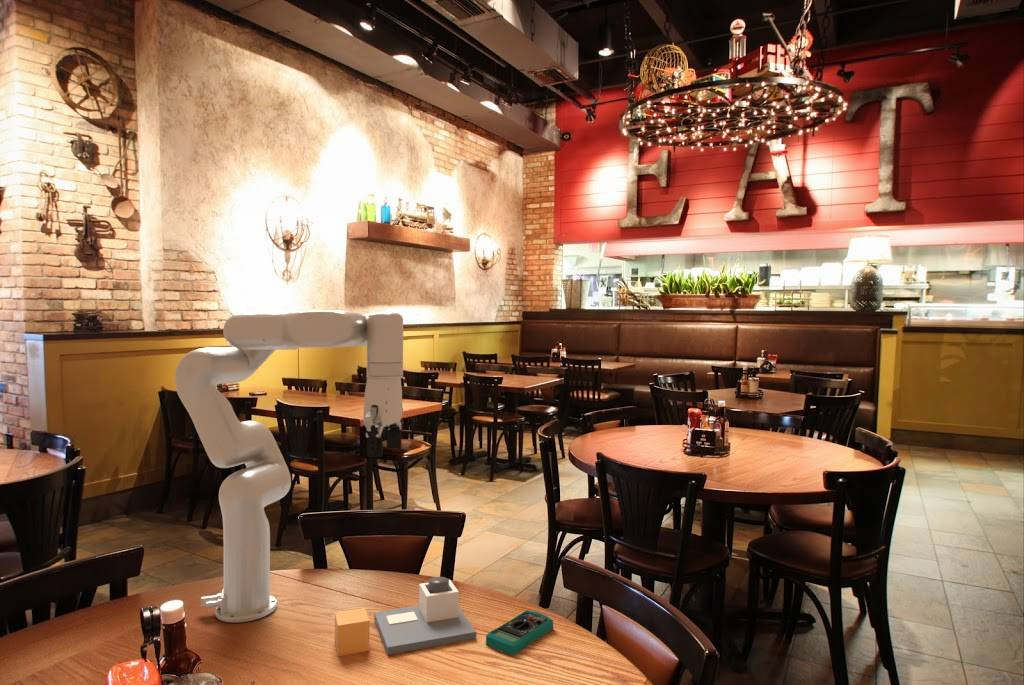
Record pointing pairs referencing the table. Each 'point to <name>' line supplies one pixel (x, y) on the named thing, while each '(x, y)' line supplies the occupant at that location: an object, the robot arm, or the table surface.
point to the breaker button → (438, 585)
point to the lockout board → (425, 622)
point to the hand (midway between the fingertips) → (384, 452)
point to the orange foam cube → (351, 631)
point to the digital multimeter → (519, 632)
